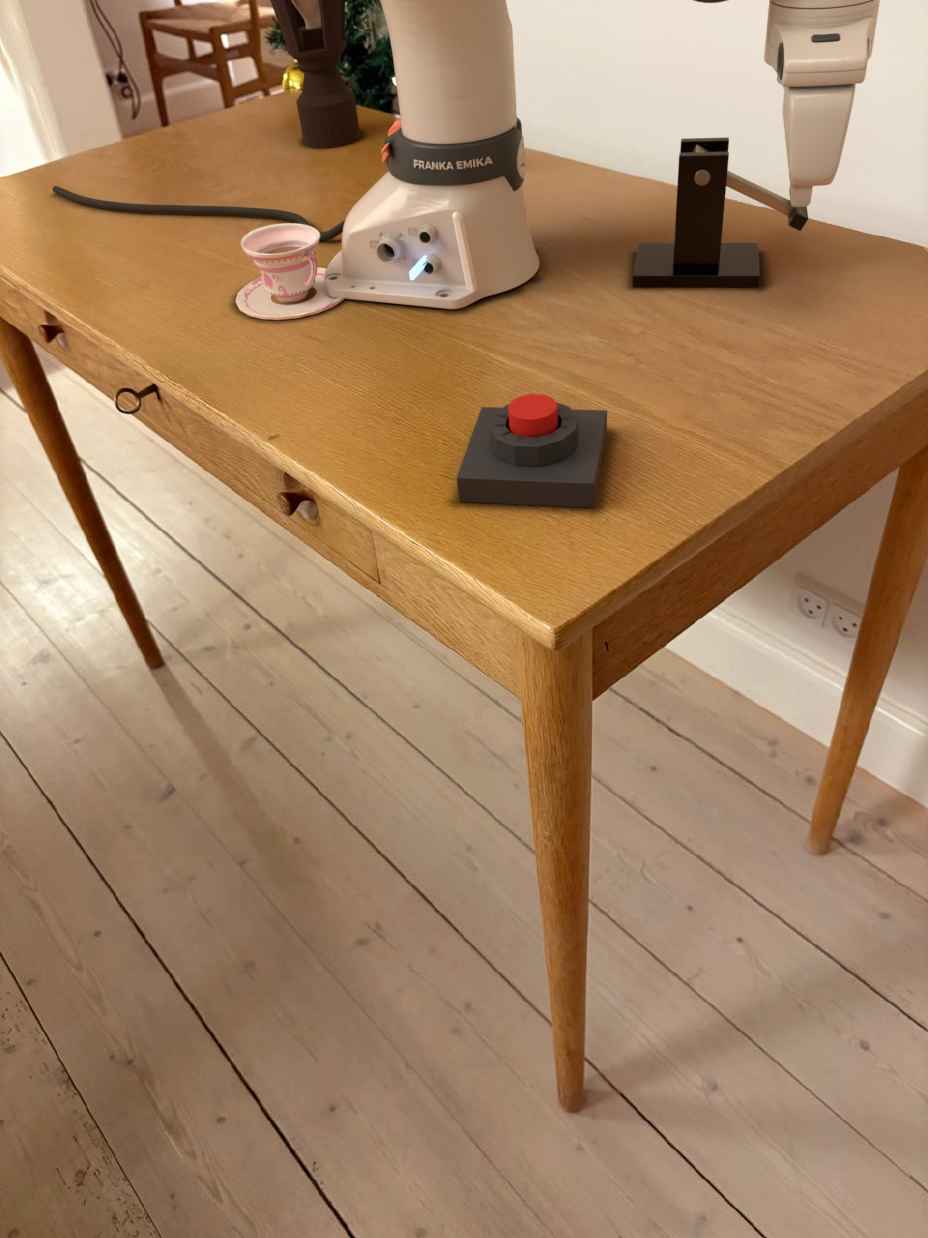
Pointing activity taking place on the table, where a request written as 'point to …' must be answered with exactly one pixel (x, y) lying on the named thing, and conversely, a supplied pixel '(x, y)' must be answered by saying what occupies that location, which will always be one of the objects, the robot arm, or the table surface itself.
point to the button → (533, 415)
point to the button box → (534, 461)
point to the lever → (765, 197)
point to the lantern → (319, 69)
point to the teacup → (284, 273)
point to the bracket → (699, 230)
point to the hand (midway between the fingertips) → (799, 201)
